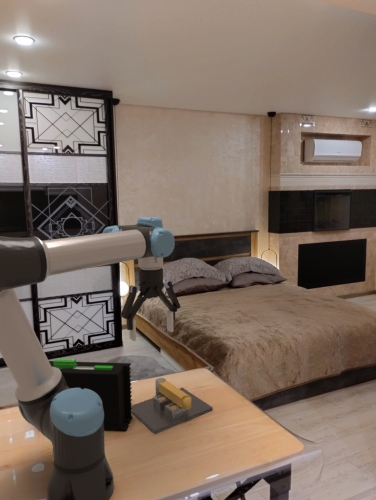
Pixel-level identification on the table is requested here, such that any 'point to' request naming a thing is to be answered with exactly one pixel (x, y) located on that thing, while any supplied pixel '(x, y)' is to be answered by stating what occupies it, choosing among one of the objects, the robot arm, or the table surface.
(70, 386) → the electronic device
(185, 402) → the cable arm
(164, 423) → the chassis plate
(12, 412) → the table surface
